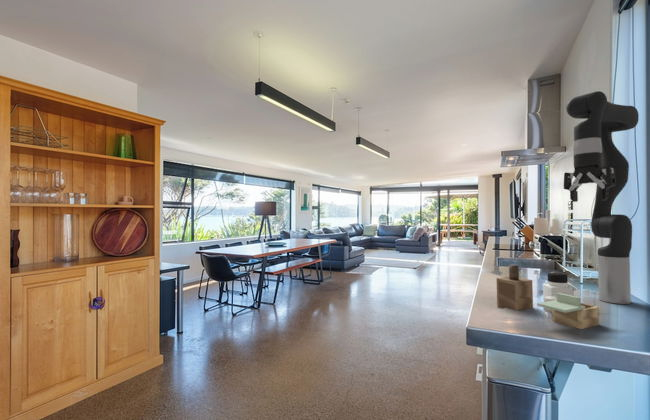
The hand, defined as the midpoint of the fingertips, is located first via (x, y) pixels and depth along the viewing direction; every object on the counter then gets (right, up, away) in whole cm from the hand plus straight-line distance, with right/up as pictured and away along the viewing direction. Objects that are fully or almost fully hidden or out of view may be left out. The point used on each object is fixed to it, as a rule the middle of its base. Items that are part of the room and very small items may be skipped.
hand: (588, 201), depth 109 cm
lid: (-19, -32, -13) cm, 39 cm away
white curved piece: (-11, -38, +2) cm, 40 cm away
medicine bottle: (-2, -39, +11) cm, 40 cm away
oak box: (-13, -38, -10) cm, 42 cm away
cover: (-20, -39, +8) cm, 44 cm away
